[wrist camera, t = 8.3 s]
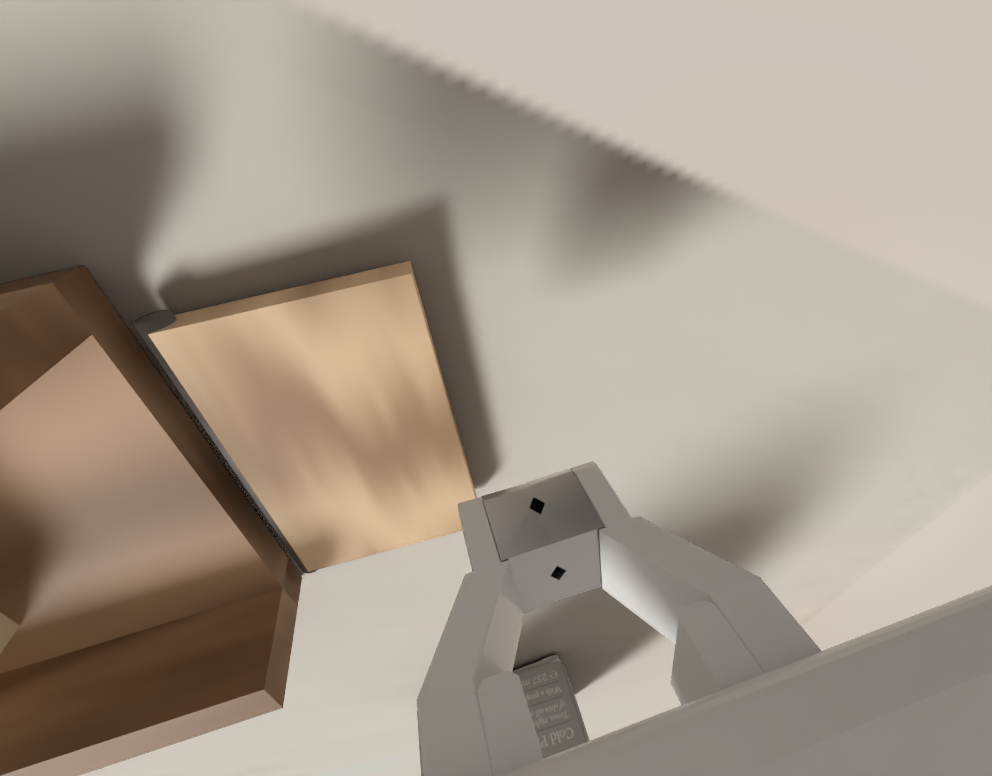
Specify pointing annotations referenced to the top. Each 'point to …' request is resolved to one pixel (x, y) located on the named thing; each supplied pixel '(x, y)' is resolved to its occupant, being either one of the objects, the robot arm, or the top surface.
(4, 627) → the block
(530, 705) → the skincare box
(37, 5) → the top surface
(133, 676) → the cart bed
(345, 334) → the tailgate
